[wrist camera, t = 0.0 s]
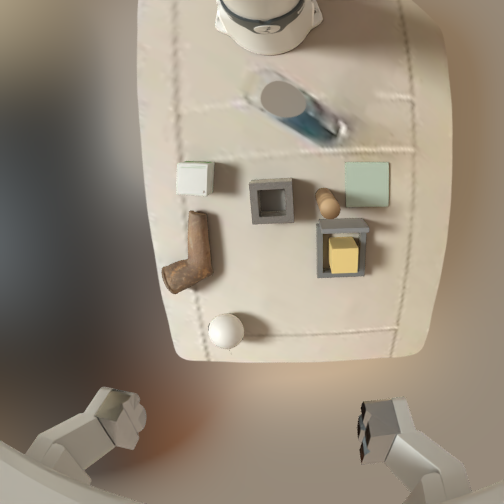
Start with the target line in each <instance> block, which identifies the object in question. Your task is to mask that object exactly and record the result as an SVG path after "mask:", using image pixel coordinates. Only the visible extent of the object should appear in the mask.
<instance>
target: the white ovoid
mask: <svg viewBox="0 0 504 504" xmlns="http://www.w3.org/2000/svg"><path fill="white" fill-rule="evenodd" d="M208 334H209V337H210V339H211V341H212V342H213V344H214V345H216V346H217V347H219V348H223V349H231V348H233V347H235V346H237V345H238V344H239V343H240V342H241V341H242V339H243V337H244V327H243V324H242V322H241V321H240V320H239V319H238V318H237V317H236V316H234V315H232V314H221V315H218V316H216V317H215V318H214V319H213V320H212V321H211V323H210V324H209V326H208ZM229 351H230V350H229ZM231 355H232V354H231Z"/></svg>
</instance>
